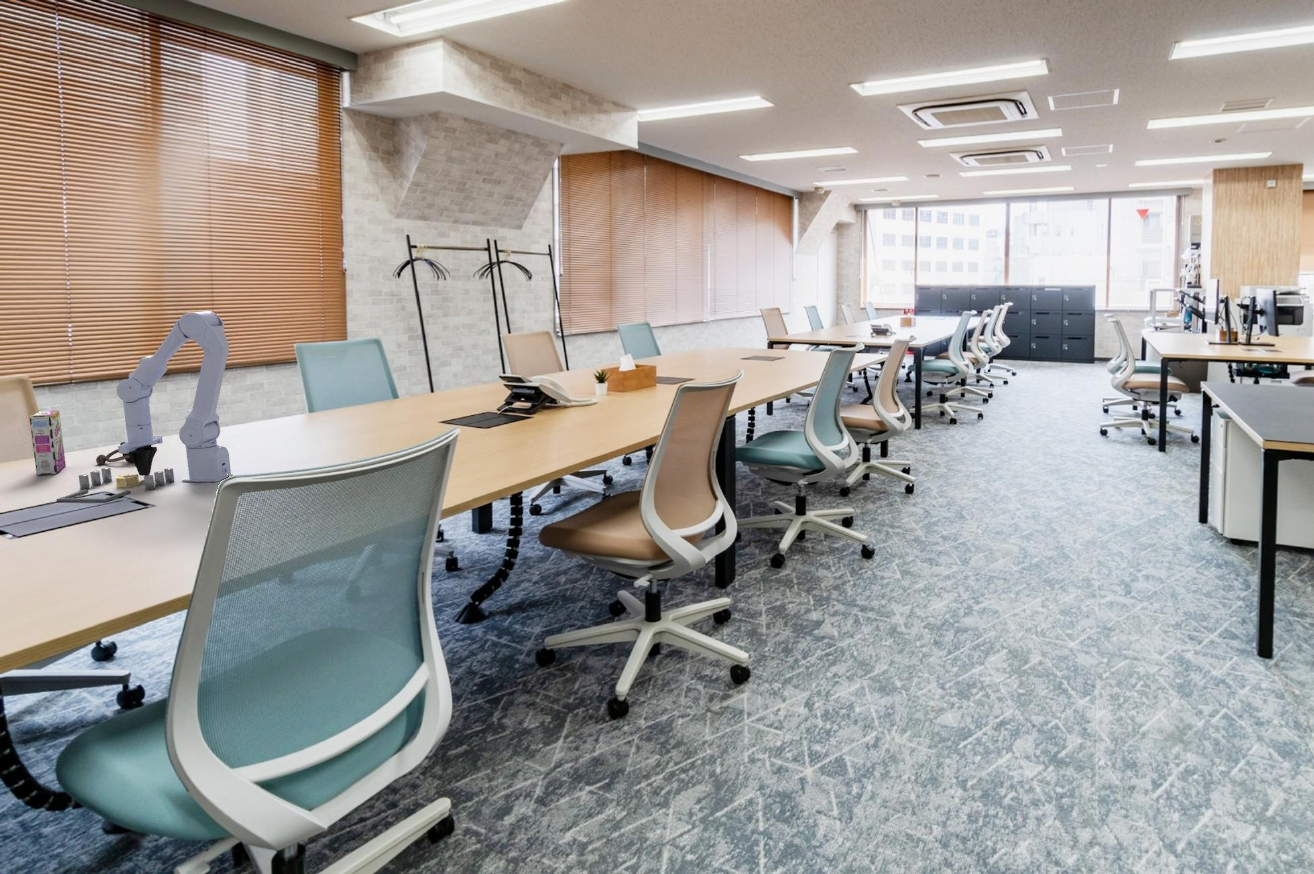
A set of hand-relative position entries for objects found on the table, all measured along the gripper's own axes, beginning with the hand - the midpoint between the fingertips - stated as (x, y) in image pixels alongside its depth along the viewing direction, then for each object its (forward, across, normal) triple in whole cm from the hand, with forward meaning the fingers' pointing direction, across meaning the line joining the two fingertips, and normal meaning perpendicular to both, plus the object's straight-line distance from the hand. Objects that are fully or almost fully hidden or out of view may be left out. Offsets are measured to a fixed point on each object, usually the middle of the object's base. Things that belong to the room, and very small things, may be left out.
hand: (144, 475), depth 219 cm
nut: (+1, +7, 0) cm, 7 cm away
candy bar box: (+2, -9, -33) cm, 34 cm away
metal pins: (+1, +7, 0) cm, 7 cm away
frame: (+1, +18, 0) cm, 18 cm away
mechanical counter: (+2, -21, -21) cm, 30 cm away
